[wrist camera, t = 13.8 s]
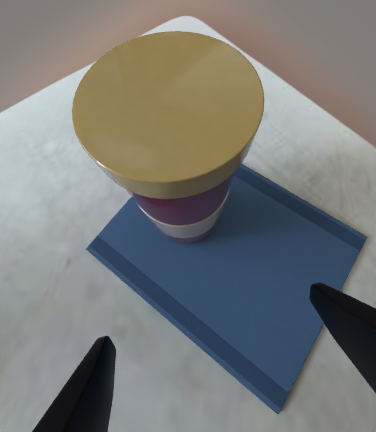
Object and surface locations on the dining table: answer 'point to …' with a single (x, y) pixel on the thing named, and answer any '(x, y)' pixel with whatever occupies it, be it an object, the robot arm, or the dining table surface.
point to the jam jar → (171, 125)
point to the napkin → (239, 278)
